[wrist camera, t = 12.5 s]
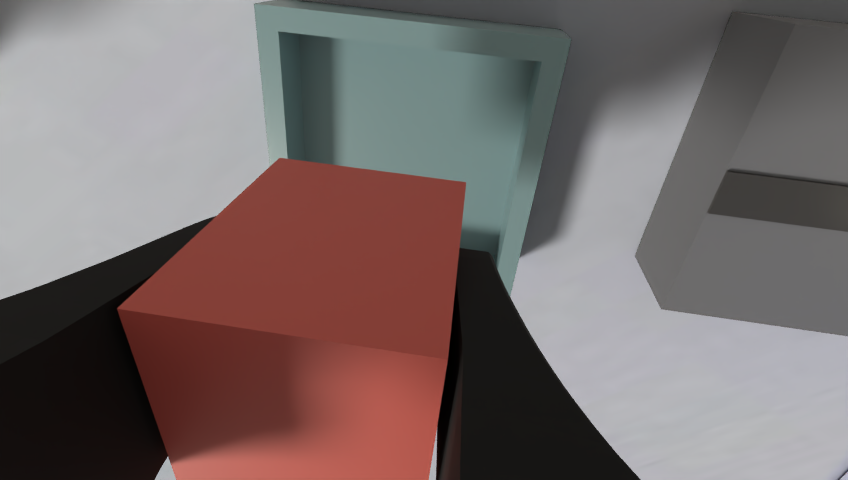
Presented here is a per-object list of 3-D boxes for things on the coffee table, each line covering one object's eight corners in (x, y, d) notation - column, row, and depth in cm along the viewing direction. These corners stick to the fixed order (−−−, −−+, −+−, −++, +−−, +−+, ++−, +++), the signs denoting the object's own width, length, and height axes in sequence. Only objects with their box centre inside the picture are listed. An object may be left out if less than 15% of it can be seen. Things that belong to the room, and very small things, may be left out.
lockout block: (466, 182, 9) (447, 359, 5) (444, 325, 12) (419, 535, 7) (279, 157, 10) (116, 308, 5) (292, 303, 12) (181, 493, 8)
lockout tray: (560, 29, 13) (571, 39, 11) (508, 263, 17) (510, 296, 16) (283, -2, 14) (253, 3, 12) (299, 233, 18) (279, 262, 16)
